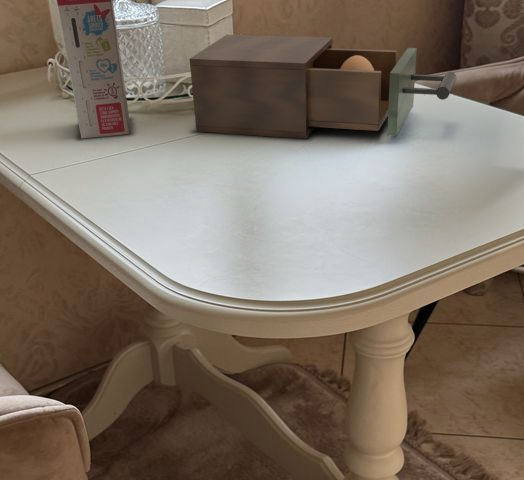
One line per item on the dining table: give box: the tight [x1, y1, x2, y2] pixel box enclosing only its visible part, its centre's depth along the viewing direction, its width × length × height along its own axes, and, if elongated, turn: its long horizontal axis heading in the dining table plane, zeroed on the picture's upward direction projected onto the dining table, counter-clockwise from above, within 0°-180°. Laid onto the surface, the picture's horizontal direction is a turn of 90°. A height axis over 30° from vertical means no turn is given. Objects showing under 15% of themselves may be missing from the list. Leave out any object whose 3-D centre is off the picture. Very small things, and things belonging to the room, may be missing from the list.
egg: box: [340, 55, 374, 71], centre depth 104 cm, size 5×5×7 cm
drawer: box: [307, 47, 457, 137], centre depth 104 cm, size 20×12×8 cm, turn 71°
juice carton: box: [56, 0, 131, 139], centre depth 104 cm, size 7×7×22 cm
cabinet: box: [189, 34, 333, 140], centre depth 108 cm, size 16×14×10 cm
